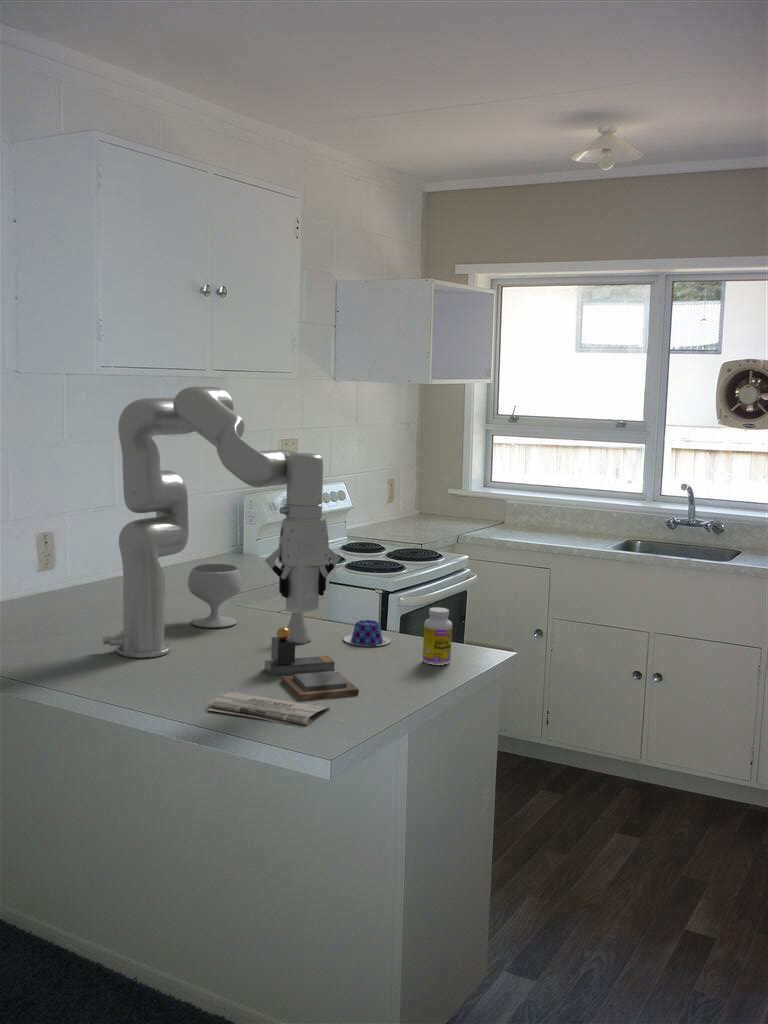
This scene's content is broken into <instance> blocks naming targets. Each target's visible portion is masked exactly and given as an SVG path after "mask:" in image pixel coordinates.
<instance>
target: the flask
mask: <svg viewBox="0 0 768 1024" xmlns="http://www.w3.org/2000/svg"><path fill="white" fill-rule="evenodd" d="M286 628H287V629H289V631H290V638H291V639H292V640H294V641H295V644H307V643H309V642H311V641H312V640H311V636H310V632H309V629H308V627H307V622H306V619H305V615H304V613H301V614H297V613H293V612H291V616H290V619H289V622H288V626H287V627H286Z"/></svg>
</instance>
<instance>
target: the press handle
mask: <svg viewBox="0 0 768 1024" xmlns="http://www.w3.org/2000/svg"><path fill="white" fill-rule="evenodd" d="M287 628H288V627H284V626H283V627H280V628H278V630H277V631H276V636H271V649H270V651H271V652H270V653H271V654H270V656H271V657H270V658H271V659H270V660H273V661H274V662H275V663H276V664H277V665H278V664H291V663H295V658H296V643H295V641H294V640H292V639H291V638H290V631H289V629H287Z"/></svg>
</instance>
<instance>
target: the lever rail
mask: <svg viewBox="0 0 768 1024" xmlns="http://www.w3.org/2000/svg"><path fill="white" fill-rule="evenodd" d="M264 670H265V672H267V673H268V674H269V675H270V676H281V675H282V676H284V675H291V674H292V675H293V674H304V673H316V672H328V671H335V661H334V660H333V659H332V658H331V657H330V656H328V655H317V656H308V657H307V656H306V657H295V663H291V664H278V665H277V664H276V663H275V662H274V661H273V660H272V659H270V660H269V659H268V660H264Z"/></svg>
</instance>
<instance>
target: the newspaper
mask: <svg viewBox="0 0 768 1024" xmlns="http://www.w3.org/2000/svg"><path fill="white" fill-rule="evenodd" d="M207 707H208V708H207V711H211V712H218V713H223V714H224V713H225V714H229V715H237V716H244V717H249V718H256V719H261V720H265V721H269V722H274V723H279V724H290V723H296V724H300V725H301V724H302V725H307V726H308V725H309V724H310V723H312V722H313V721H312V720H311V719H312V718H311V717H312V716H313V715H315V714H317V713H318V712H321V711H330V707H326V706H320V705H314V704H309V703H303V702H301V703H300V702H294V701H289V700H282V699H277V698H271V697H265V696H260V695H259V696H258V695H252V694H246V693H239V692H233V691H231V692H227V693H225V694H222V695H220V696H218V697H217V696H216V698H214V699H212V700H210V701H209V702H208V703H207Z"/></svg>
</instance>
